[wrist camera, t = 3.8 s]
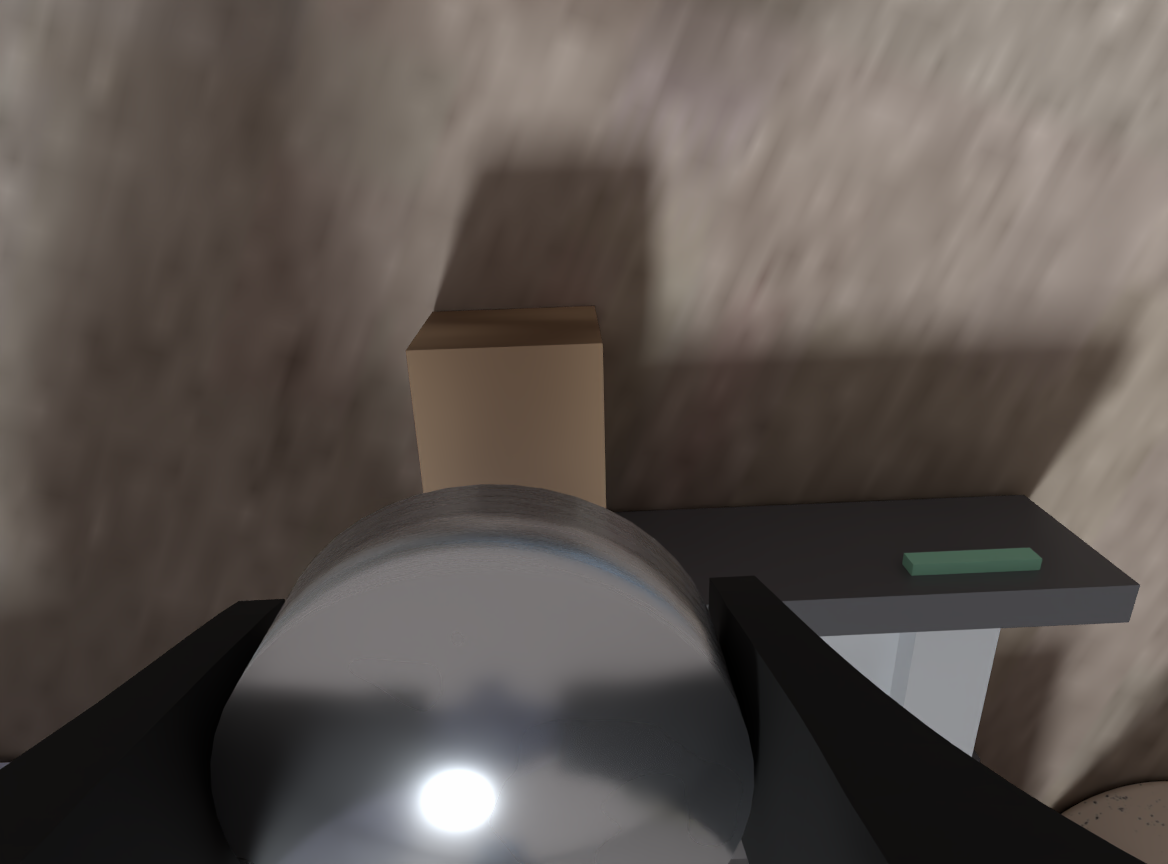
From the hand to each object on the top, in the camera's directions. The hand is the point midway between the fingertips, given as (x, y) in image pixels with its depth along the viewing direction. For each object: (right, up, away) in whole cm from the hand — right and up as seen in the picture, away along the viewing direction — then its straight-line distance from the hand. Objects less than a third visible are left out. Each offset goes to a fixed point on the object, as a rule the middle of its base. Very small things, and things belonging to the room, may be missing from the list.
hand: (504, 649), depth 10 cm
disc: (0, 0, -1) cm, 1 cm away
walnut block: (-1, +4, +9) cm, 10 cm away
